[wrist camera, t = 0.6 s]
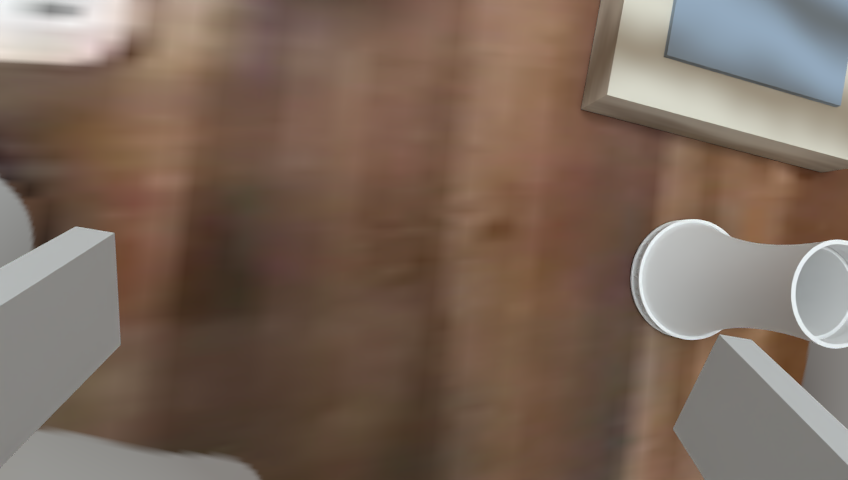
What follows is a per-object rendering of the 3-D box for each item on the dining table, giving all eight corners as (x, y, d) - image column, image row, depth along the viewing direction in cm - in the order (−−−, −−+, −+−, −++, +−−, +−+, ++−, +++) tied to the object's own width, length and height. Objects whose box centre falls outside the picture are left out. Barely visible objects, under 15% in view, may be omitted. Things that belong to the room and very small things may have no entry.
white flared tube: (684, 195, 32) (840, 174, 22) (754, 280, 33) (933, 295, 23) (606, 276, 31) (733, 292, 21) (680, 361, 32) (835, 413, 22)
